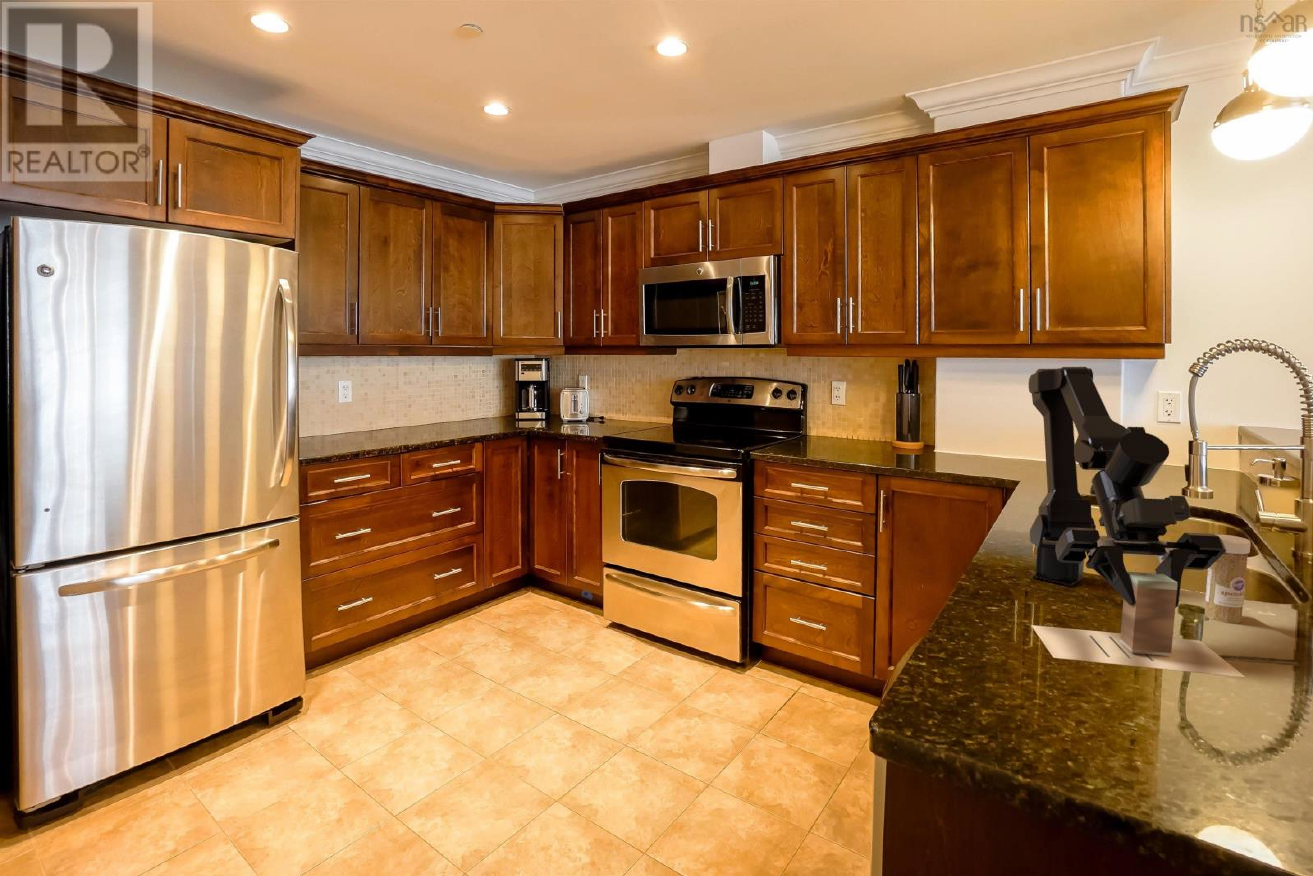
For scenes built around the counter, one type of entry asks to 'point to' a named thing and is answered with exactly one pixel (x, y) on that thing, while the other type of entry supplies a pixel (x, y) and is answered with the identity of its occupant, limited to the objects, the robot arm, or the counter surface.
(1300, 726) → the counter surface
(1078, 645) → the birch board
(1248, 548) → the sprinkles bottle
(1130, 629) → the block
